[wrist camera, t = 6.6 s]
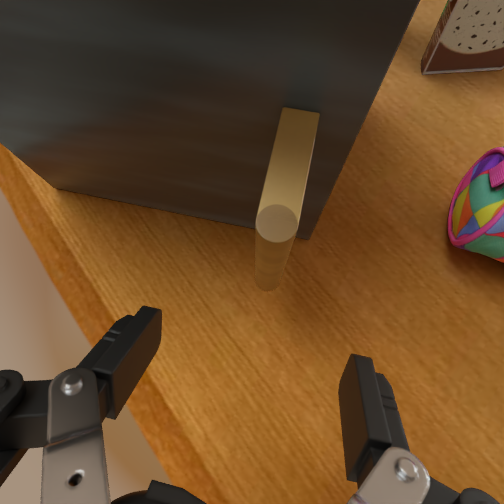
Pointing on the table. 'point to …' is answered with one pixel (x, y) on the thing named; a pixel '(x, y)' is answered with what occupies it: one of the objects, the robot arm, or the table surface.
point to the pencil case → (480, 208)
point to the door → (197, 103)
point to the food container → (467, 38)
